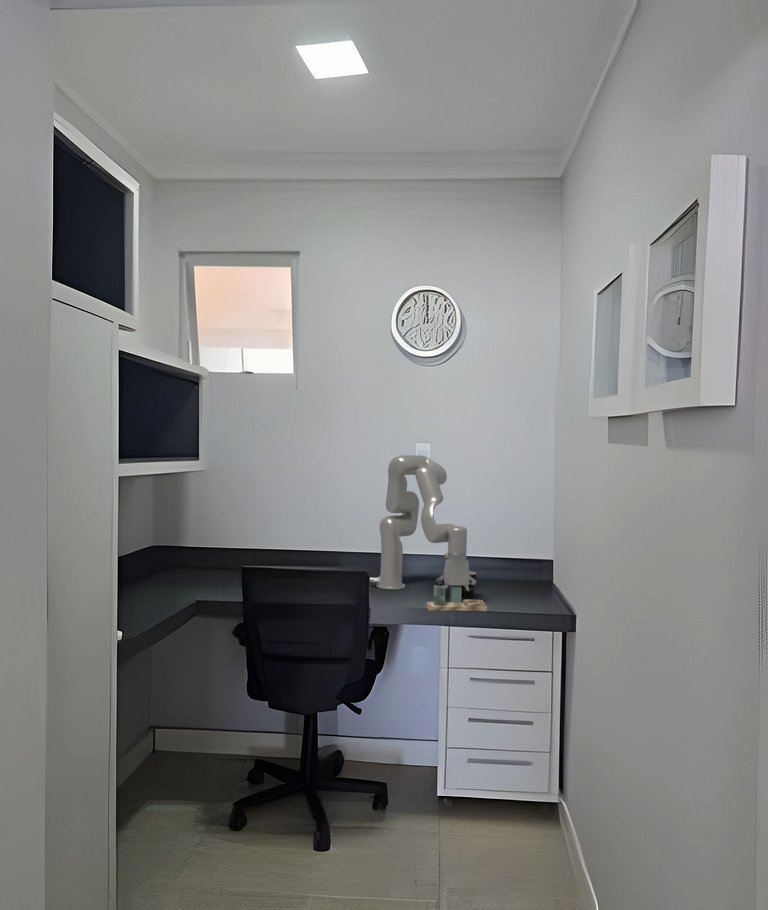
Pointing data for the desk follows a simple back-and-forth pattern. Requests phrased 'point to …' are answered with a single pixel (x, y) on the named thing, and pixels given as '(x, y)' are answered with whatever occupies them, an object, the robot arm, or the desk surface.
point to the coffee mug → (468, 585)
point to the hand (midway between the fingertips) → (455, 599)
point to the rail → (441, 603)
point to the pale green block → (455, 593)
